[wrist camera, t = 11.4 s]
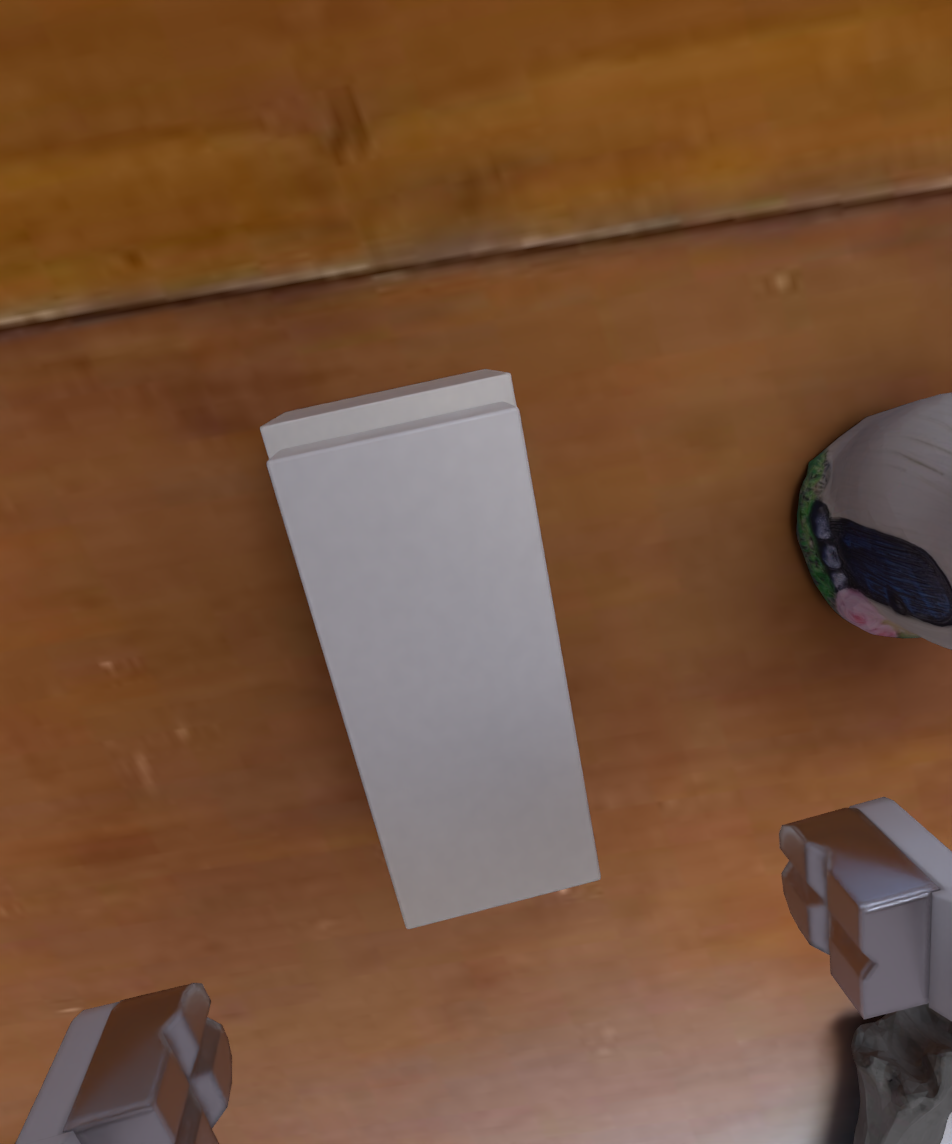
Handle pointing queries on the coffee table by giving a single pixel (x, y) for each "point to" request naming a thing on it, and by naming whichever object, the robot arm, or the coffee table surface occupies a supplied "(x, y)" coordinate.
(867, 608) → the decorative ornament
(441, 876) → the pale grey rectangular block
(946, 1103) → the bone
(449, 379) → the grey oblong block
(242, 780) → the coffee table surface
